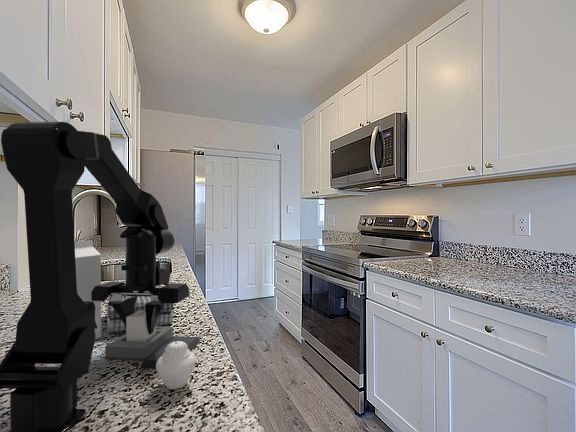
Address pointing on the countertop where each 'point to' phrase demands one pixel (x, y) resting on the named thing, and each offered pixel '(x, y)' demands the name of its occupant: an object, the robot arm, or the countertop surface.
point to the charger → (138, 327)
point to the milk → (88, 276)
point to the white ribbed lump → (176, 365)
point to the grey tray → (137, 346)
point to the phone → (154, 357)
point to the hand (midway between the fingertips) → (141, 333)
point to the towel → (117, 324)
